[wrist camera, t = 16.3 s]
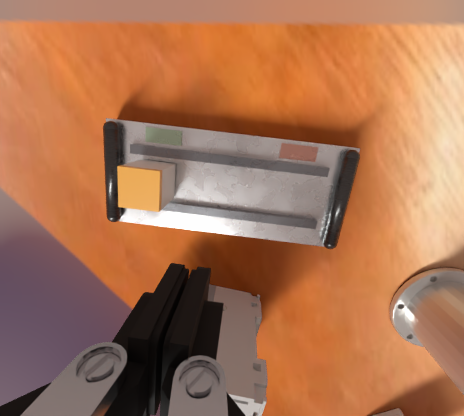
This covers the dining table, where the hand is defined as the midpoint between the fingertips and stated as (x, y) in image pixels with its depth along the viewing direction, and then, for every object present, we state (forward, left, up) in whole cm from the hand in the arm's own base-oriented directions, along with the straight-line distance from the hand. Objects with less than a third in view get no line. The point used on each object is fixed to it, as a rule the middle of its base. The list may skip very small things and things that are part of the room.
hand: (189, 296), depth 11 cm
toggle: (+8, 0, -19) cm, 21 cm away
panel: (0, 0, -22) cm, 22 cm away
